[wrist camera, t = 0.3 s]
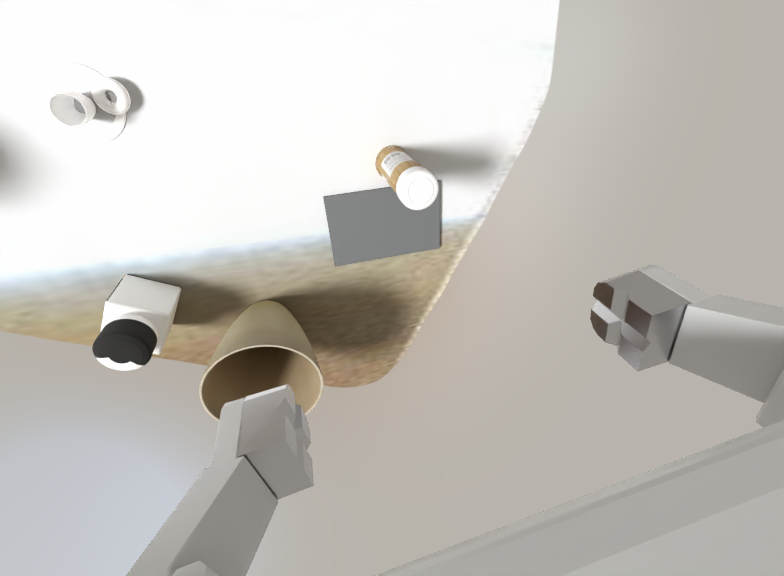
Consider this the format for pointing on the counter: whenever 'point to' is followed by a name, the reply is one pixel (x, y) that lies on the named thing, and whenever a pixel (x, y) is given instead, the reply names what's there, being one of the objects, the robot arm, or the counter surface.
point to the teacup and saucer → (83, 102)
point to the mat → (379, 226)
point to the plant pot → (262, 360)
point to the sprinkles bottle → (407, 178)
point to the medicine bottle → (135, 322)
